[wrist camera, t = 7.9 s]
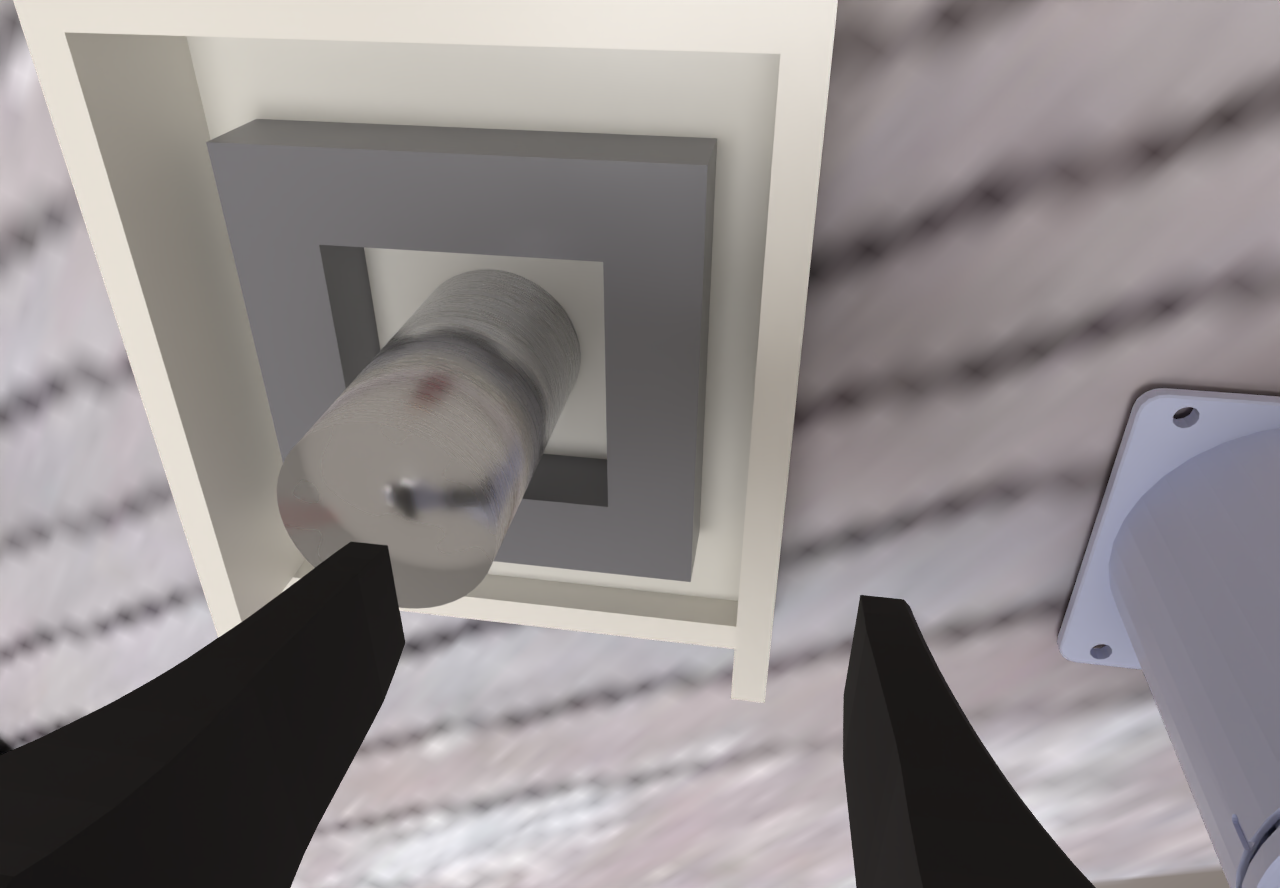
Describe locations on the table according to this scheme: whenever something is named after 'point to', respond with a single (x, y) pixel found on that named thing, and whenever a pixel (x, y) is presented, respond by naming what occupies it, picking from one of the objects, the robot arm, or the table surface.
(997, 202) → the table surface
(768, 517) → the walled box
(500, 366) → the metal plug
